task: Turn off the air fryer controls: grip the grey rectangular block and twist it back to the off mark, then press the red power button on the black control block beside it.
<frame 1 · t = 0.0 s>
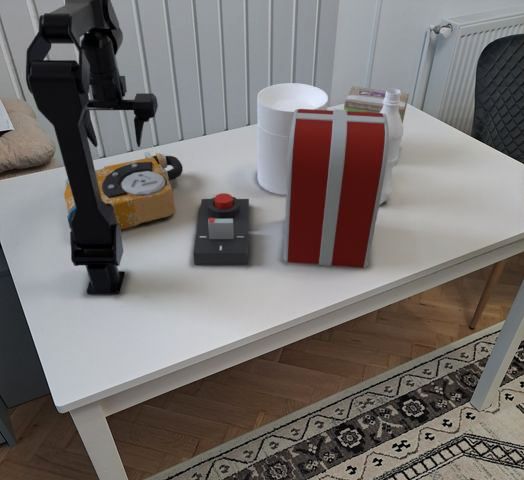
hand: (117, 146, 113), 15 cm above the table, tool pointing down, fingers open, 9 cm apart
grey rectangular block: (221, 228, 108), point 5 cm above the table, hinge at 90.0°
wrapped gift box: (326, 242, 114), on the table
power button: (223, 201, 116), point 4 cm above the table, slide at 0.1 cm
button block: (224, 218, 120), on the table
canister: (289, 179, 132), on the table
tea box: (368, 153, 142), on the table
water bottle: (374, 200, 126), on the table
dial panel: (222, 249, 112), on the table
device: (130, 205, 124), on the table
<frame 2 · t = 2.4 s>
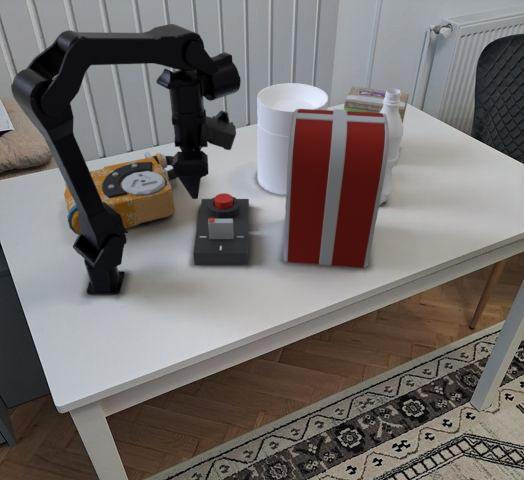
hand: (195, 186, 105), 13 cm above the table, tool pointing down, fingers open, 9 cm apart
nothing on the table moved.
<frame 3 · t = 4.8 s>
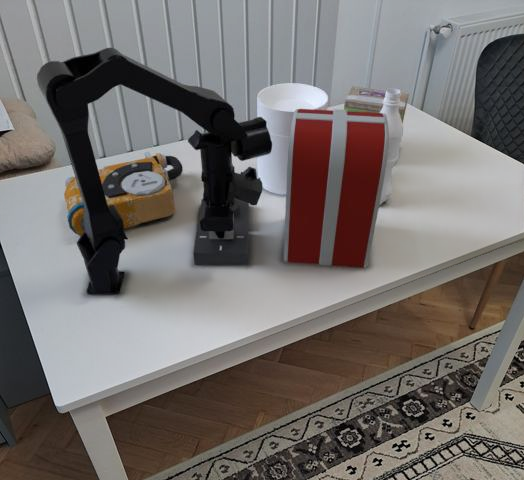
hand: (221, 235, 109), 4 cm above the table, tool pointing down, fingers closed on grey rectangular block, 2 cm apart
grey rectangular block: (221, 228, 108), point 5 cm above the table, hinge at 90.0°, touching gripper
everything else where it was.
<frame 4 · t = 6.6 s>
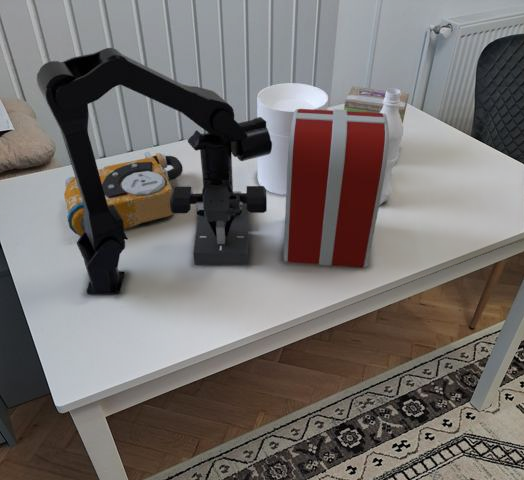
hand: (221, 235, 109), 3 cm above the table, tool pointing down, fingers closed on grey rectangular block, 2 cm apart
grey rectangular block: (221, 228, 108), point 5 cm above the table, hinge at 0.5°, touching gripper
everything else where it was.
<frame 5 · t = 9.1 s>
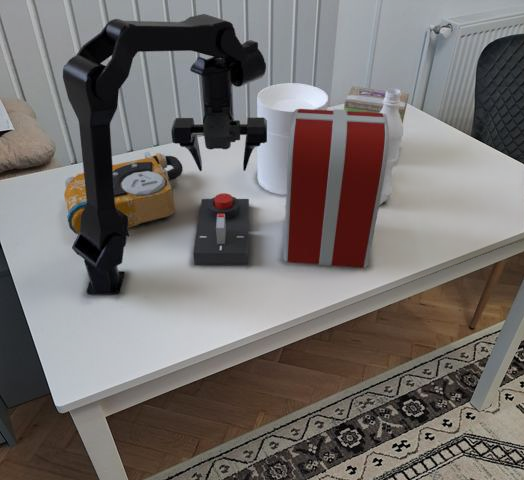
hand: (222, 170, 110), 12 cm above the table, tool pointing down, fingers open, 9 cm apart
grey rectangular block: (221, 228, 108), point 5 cm above the table, hinge at 0.5°
everything else where it was.
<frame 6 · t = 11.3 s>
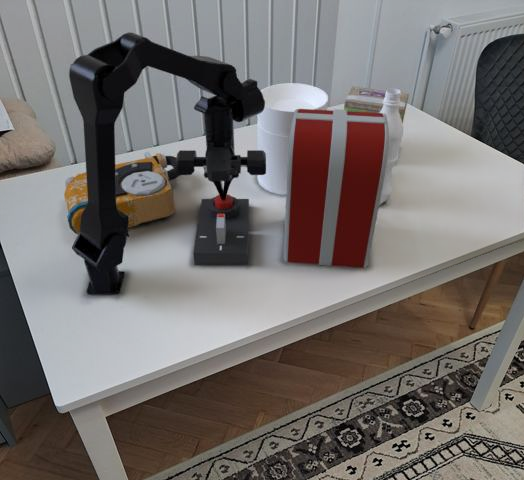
hand: (223, 198, 116), 5 cm above the table, tool pointing down, fingers closed, pressing on power button
power button: (223, 202, 117), point 4 cm above the table, slide at 0.0 cm, touching gripper
everything else where it was.
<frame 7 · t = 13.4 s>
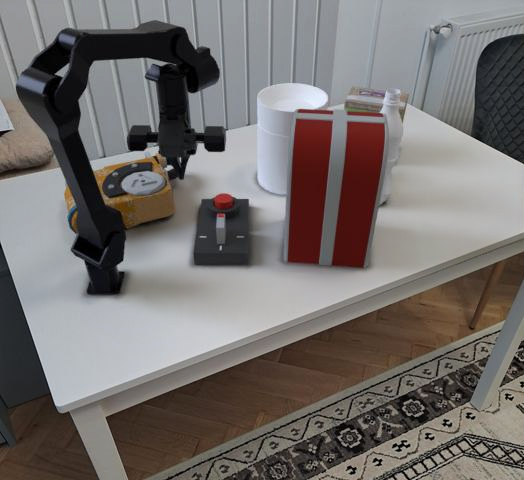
hand: (181, 179, 108), 12 cm above the table, tool pointing down, fingers closed
power button: (223, 201, 116), point 4 cm above the table, slide at 0.1 cm
everything else where it was.
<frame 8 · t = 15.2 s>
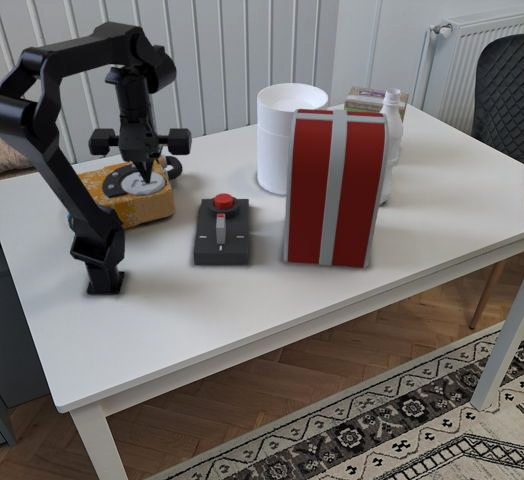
hand: (148, 182, 105), 13 cm above the table, tool pointing down, fingers closed
nothing on the table moved.
at the end: grey rectangular block at +0° (first picture: +90°); power button pushed in 1.0 cm at the most during the clip, back to where it started at the end; power button slide at 0.1 cm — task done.
